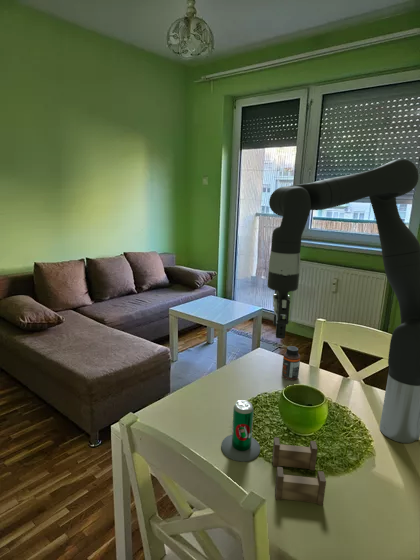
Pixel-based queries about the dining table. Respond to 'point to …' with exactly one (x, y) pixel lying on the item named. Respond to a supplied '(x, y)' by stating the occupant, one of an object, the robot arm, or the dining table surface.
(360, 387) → the dining table surface
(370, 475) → the dining table surface
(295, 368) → the supplement bottle
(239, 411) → the soda can
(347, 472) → the dining table surface
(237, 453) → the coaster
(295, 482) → the channel
